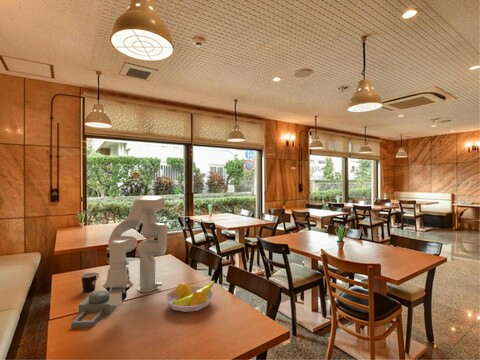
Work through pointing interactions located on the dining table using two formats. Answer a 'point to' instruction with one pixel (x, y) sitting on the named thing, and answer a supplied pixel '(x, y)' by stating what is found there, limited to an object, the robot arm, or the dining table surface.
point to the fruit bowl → (189, 297)
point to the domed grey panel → (93, 309)
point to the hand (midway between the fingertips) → (118, 299)
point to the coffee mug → (89, 281)
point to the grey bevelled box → (116, 296)
